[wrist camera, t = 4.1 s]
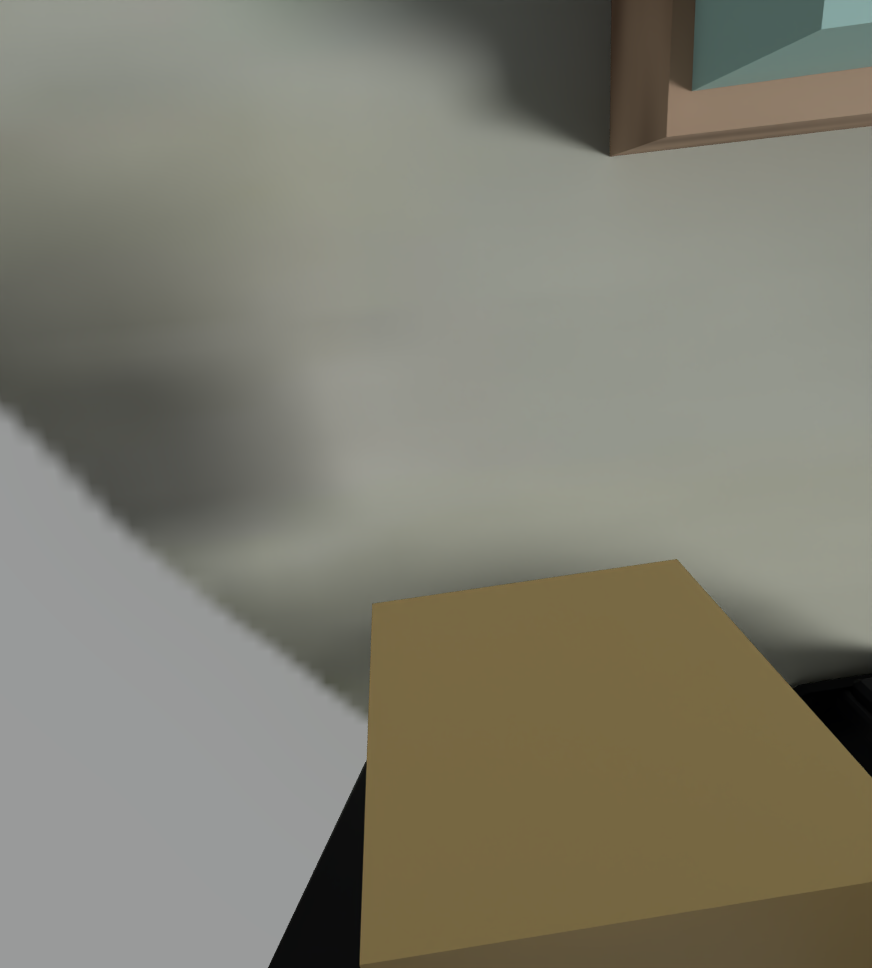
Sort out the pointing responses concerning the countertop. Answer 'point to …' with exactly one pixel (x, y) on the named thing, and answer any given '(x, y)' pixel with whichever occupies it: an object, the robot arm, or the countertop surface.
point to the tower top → (778, 39)
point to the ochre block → (602, 787)
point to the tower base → (711, 112)
